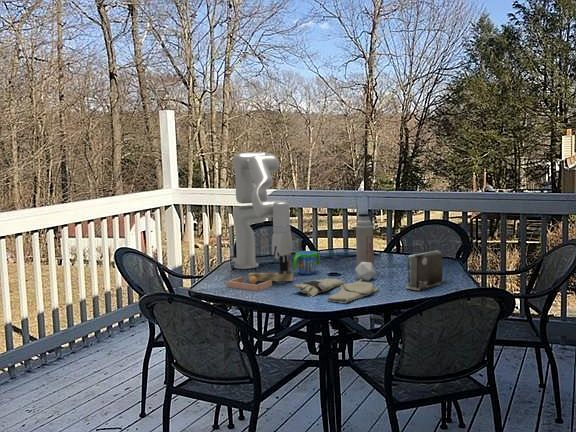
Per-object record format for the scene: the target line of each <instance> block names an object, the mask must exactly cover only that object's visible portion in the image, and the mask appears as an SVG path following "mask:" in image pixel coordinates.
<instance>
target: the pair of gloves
mask: <svg viewBox="0 0 576 432" xmlns="http://www.w3.org/2000/svg"><path fill="white" fill-rule="evenodd" d="M291 287H292V288H297V289H298V290H299V291H300V292H301V293H302V294H306V295H307V296H308V297H309V296H315V295H316V296H317V295H319V294H322V293H321V292H323V293H326V292H327V291H329V290H331V288H332V289H333V288H335V287H339V289H338V290H339V291H337V292H336V293H334V294H331V295H329V296H328V297H327V302H328V301H335V302H343V303H344V302H345V304H347V302H348V303H350V302H349V301H351V302H353V301H352V300H354V301H355V299H356V300H358V299H361V298H364V296H365V297H367V296H369V295H370V294H373V293H376V292H377V291H379V287H377V286H375V285H374V284H373V283H372V282H369V281H364V280H362V279H360V280H359V279H358V280H356V281H355V282H349V283H345V282H344V281H343V280H341V279H339V278H324V279H316V280H309V281H305V282H302V283H300V284H298V283H297V284H292V286H291ZM325 291H326V292H325ZM318 293H319V294H318ZM316 296H315V297H316ZM357 298H358V299H357Z"/></svg>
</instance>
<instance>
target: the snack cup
mask: <svg viewBox="0 0 576 432" xmlns="http://www.w3.org/2000/svg"><path fill="white" fill-rule="evenodd" d="M320 264H321V258H320V254H319V253H318V251H315V250H302V251H301V250H299V251H297V252H295V255H294V257H293V260H292V268H294V269H295V270H296V269H298V273H299V274H301V275H312V274H315V273H316V267H317V266H316V265H320Z"/></svg>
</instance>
